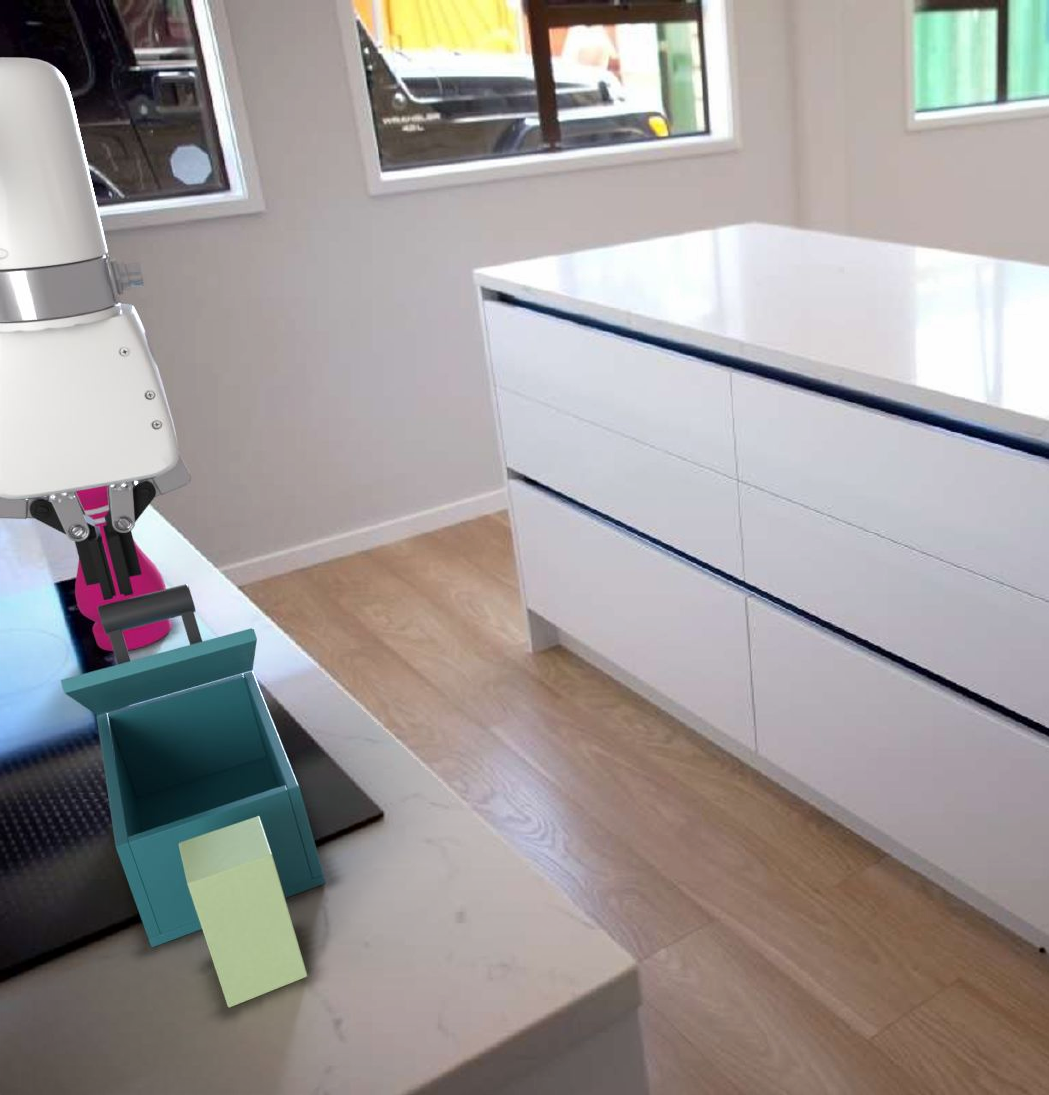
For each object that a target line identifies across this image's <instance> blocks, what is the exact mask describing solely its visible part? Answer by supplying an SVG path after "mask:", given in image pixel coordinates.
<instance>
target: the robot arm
mask: <svg viewBox="0 0 1049 1095" xmlns="http://www.w3.org/2000/svg"><path fill="white" fill-rule="evenodd" d="M78 122H79V121H78V118H77V113H76V109H75V105H74V101H73V97H72V94H71V91H70V87H69V84H68V82H67V80H66V78H65V76H64V75H63V74H62V72H61V71H60V70H59V69H58V68H57V67H56V66H55V65H53V64H52V63H50V62H48V61H44V60H42V59H38V58H31V57H11V56H10V57H3V56H1V57H0V519H14V520H15V519H16V520H27V519H35V520H37V521H38V522H41V523H42V524H45V525H46V526H48V527H50V528H53V529H54V530H56V531H58V532H60V533H62V534H64V535H66V536H67V538H68V539H69V540H70V541H73V542H74V544H75V548H76V552H77V554H78V555H77V556H78V560H79V559H80V563H81V567H82V571H83V574H84V578H85V582H86V585H87V586H88V585H93V584H98V583H99V584H100V588H101V592H102V595H103V599H104V600H109V599H113V596H116V592H115V587H114V583H113V579H112V575H111V571H110V567H109V563H108V559H107V555H106V551H105V548H104V544H103V540H102V536H101V532H100V528H99V526H98V527H95V524H94V520H93V519H92V518H90V517H89V516H87V515H86V513H85V511H84V509H83V507H82V504H81V502H80V500H79V498H78V496H77V493H76V491H79V490H85V489H91V488H97V487H102V486H107V492H108V505H109V512H108V513H107V514H106V516H105V521H106V525H104V526H103V528H104V532H105V537H106V541H107V545H108V549H109V553H110V557H111V561H112V564H113V568H114V572H115V576H116V580H117V584H118V588H119V592H120V595H122V594H124V596H128V595H133V590H132V586H131V582H130V578H129V577H132V576H137V575H142V573H141V569H140V565H139V560H138V556H137V552H136V548H135V544H134V541H135V539H134V536H133V533H132V530H133V529H134V528H135V527H136V526H135V525H136V522H137V521H138V519H139V518H140V517H141V516H142V515H143V513H144V512H145V510H146V509H147V508H148V507H149V506H150V504H151V503H152V501H153V500H155V498H156V497H159V496H163V495H166V494H168V493H171V492H172V491H175V490H178V489H181V488H183V487H185V486H188V484H190V482H191V480H192V476H191V473H190V471H189V469H188V467H187V465H186V463H185V462H184V460H183V458H182V456H181V454H180V451H179V444H178V437H177V433H176V428H175V424H174V420H173V415H172V412H171V408H170V406H169V402H168V398H167V394H166V391H165V387H164V383H163V380H162V377H161V373H160V371H159V367H158V364H157V360H156V358H155V354H154V352H153V349H152V347H151V344H150V341H149V338H148V334H147V331H146V330H145V327H144V325H143V323H142V320H141V319H140V316H139V314H138V312H137V309H135V305H133V304H130V303H121V301H120V296H121V295H124V291H129V290H131V288H134V287H135V288H136V287H143V286H145V284H144V283H145V282H144V279H143V274H142V270H141V267H140V263H139V262H134V263H133V262H132V263H125V262H124V261H119V262H117V259H116V258H110V255H109V254H108V252H109V251H108V247H107V242H106V238H105V232H104V229H103V226H102V221H101V220H102V219H101V217H100V212H99V209H98V204H97V200H96V195H95V191H94V190H95V189H94V187H93V182H92V178H91V174H90V170H89V165H88V161H87V157H86V153H85V149H84V144H83V140H82V136H81V131H80V127H79V123H78ZM133 539H134V540H133Z"/></svg>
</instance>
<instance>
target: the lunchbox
mask: <svg viewBox="0 0 1049 1095" xmlns="http://www.w3.org/2000/svg"><path fill="white" fill-rule="evenodd" d="M96 721H97V727H98V735H99V741H100V748H101V749H100V750H101V756H102V763H103V769H104V775H105V784H106V789H107V795H108V796H107V797H108V803H109V810H110V818H111V824H112V831H113V838H114V845H115V850H116V852H117V854H118V858H119V860H120V863H121V866H122V868H123V872H124V873H125V877H126V880H127V883H128V886H129V888H130V892H131V894H132V897H133V900H134V902H135V905H136V907H137V911H138V913H139V916H140V920H141V922H142V925H143V928H144V930H145V933H146V936H147V938H148V941H149V945H150V946H151V948H155V947H157V946H160V945H163V944H165V943H168V942H171V941H173V940H176V939H178V938H182V937H184V936H187V935H190V934H192V933H196V932H198V931H201V930H202V927H201V924H200V921H199V918H198V915H197V912H196V909H195V906H194V903H193V900H192V897H191V894H190V891H189V888H188V885H187V880H186V876H185V871H184V867H183V862H182V858H181V853H180V849H179V843H180V842H183V841H186V840H189V839H192V838H195V837H198V836H201V835H204V834H207V833H210V832H213V831H216V830H219V829H222V828H225V827H228V826H231V825H234V824H237V823H240V822H243V821H245V820H248V819H251V818H254V817H257V816H259V817H260V820H261V823H262V826H263V829H264V832H265V835H266V838H267V841H268V844H269V847H270V850H271V853H272V856H273V859H274V863H275V866H276V869H277V873H278V876H279V880H280V883H281V887H282V890H283V893H284V897H285V899H286V898H290V897H292V896H296V895H298V894H300V893H303V892H306V891H310V890H311V889H314V888H317V887H320V886H322V885H325V884H326V878H325V876H324V871H323V868H322V865H321V860H320V857H319V853H318V850H317V845H316V843H315V839H314V835H313V832H312V828H311V824H310V820H309V817H308V813H307V810H306V805H305V802H304V799H303V798H304V797H303V795H302V791H301V788H300V785H299V783H298V782H299V781H298V780H297V777H296V775H295V772H294V770H293V768H292V765H291V763H290V760H289V758H288V755H287V753H286V752H287V751H286V750H285V747H284V745H283V742H282V740H281V738H280V735H279V732H278V730H277V728H276V725H275V722H274V720H273V718H272V714H271V713H270V710H269V707H268V705H267V703H266V700H265V697H264V694H263V693H262V690H261V687H260V685H259V683H258V680H257V677H256V675H255V672H254V671H253V670H252V671H248V672H245V673H241V674H238V675H234V676H231V677H227V678H224V679H220V680H217V681H214V682H210V683H207V684H203V685H200V686H196V687H193V688H189V689H186V690H182V691H179V692H175V693H172V694H168V695H165V696H161V697H158V698H154V699H151V700H147V701H144V702H140V703H137V704H133V705H130V706H126V707H123V708H119V709H116V710H112V711H109V712H105V713H102V714H98V715H96Z"/></svg>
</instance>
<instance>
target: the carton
mask: <svg viewBox="0 0 1049 1095" xmlns="http://www.w3.org/2000/svg"><path fill="white" fill-rule="evenodd" d="M179 849H180V853H181V858H182V862H183V867H184V871H185V876H186V880H187V885H188V888H189V891H190V894H191V897H192V900H193V903H194V906H195V909H196V912H197V915H198V918H199V921H200V924H201V927H202V929H201V930H202V932H203V935H204V940H205V942H206V945H207V948H208V952H209V953H210V956H211V960H212V963H213V966H214V969H215V972H216V975H217V978H218V981H219V984H220V987H221V989H222V993H223V996H224V999H225V1002H226V1005H227V1007H228V1008H232V1007H234V1006H238V1005H239V1004H243V1003H244V1002H247V1001H249V1000H253V999H255V998H257V997H259V996H263V995H265V994H267V993H269V992H272V991H275V990H277V989H281V988H282V987H285V986H288V985H289V984H292V983H295V982H297V981H300V980H302V979H305V978H307V977H308V972H307V969H306V966H305V962H304V959H303V955H302V952H301V949H300V946H299V941H298V939H297V938H298V937H297V934H296V932H295V928H294V925H293V921H292V918H291V914H290V910H289V908H288V904H287V901H286V898H285V897H284V893H283V890H282V887H281V883H280V880H279V876H278V873H277V869H276V866H275V863H274V859H273V856H272V853H271V850H270V847H269V844H268V841H267V838H266V835H265V832H264V829H263V826H262V823H261V820H260V817H259V816H257V817H254V818H251V819H248V820H245V821H243V822H240V823H237V824H234V825H231V826H228V827H225V828H222V829H219V830H216V831H213V832H210V833H207V834H204V835H201V836H198V837H195V838H192V839H189V840H186V841H183V842H180V843H179Z"/></svg>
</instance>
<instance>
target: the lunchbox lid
mask: <svg viewBox="0 0 1049 1095" xmlns="http://www.w3.org/2000/svg"><path fill="white" fill-rule="evenodd" d="M196 609H197V608H196V606H195V603H194V599H193V597H192V593H191V589H190V587H189V584H188V583H185V584H181V585H177V586H172V587H169V588H166V589H165V590H161V591H157V592H153V593H149V594H145V595H141V596H137V597H133V598H129V599H125V600H121V601H117V602H113V603H109V604H105V605H101V606H98V612H99V616H100V619H101V623H102V626H103V629H104V631H105V634H106V635H109V638H110V641H111V644H112V648H113V651H112V652H113V654H114V657H115V661H116V664H115V665H112V666H107V667H104V668H100V669H97V670H93V671H92V670H91V671H89V672H85V673H81V674H78V675H73V676H71V677H67V678H63V679H61V680H60V684H61V687H62V691H63V693H64V694H65V695H66V696H68V697H70V698H71V699H72V700H74V701H75V702H77V703H78V704H80V705H81V706H83V707H84V708H85V709H86V710H89V711H90V712H91V713H93V714H94V715H96V716H97V715H100V714H104V713H108V712H111V711H114V710H118V709H121V708H125V707H128V706H132V705H135V704H139V703H142V702H146V701H149V700H153V699H156V698H160V697H163V696H167V695H170V694H174V693H177V692H181V691H184V690H188V689H191V688H195V687H198V686H201V685H205V684H208V683H212V682H215V681H219V680H222V679H226V678H229V677H233V676H236V675H240V674H244V673H247V672H251V671H253V670H254V664H255V657H256V649H257V643H258V638H257V635H256V632H255V628H253V627H251V628H247V629H244V630H240V631H236V632H233V633H228V634H225V635H221V636H217V637H214V638H211V639H206V640H203V638H202V636H201V632H200V628H199V626H198V622H197V619H196V615H195V613H196V611H197V610H196ZM178 617H181V620H182V623H183V626H184V629H185V633H186V636H187V640H188V643H189V644H188V645H185V646H181V647H177V648H174V649H173V648H172V649H170V650H167V651H163V652H158V653H154V654H152V655H148V656H144V657H141V658H136V659H134V660H133V659H131V657H130V653H129V650H127V646H126V643H125V640H124V636H123V633H122V631H124V630H128V629H132V628H136V627H140V626H143V625H147V624H151V623H155V622H159V621H162V620H166V619H170V620H171V619H174V618H178Z"/></svg>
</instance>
